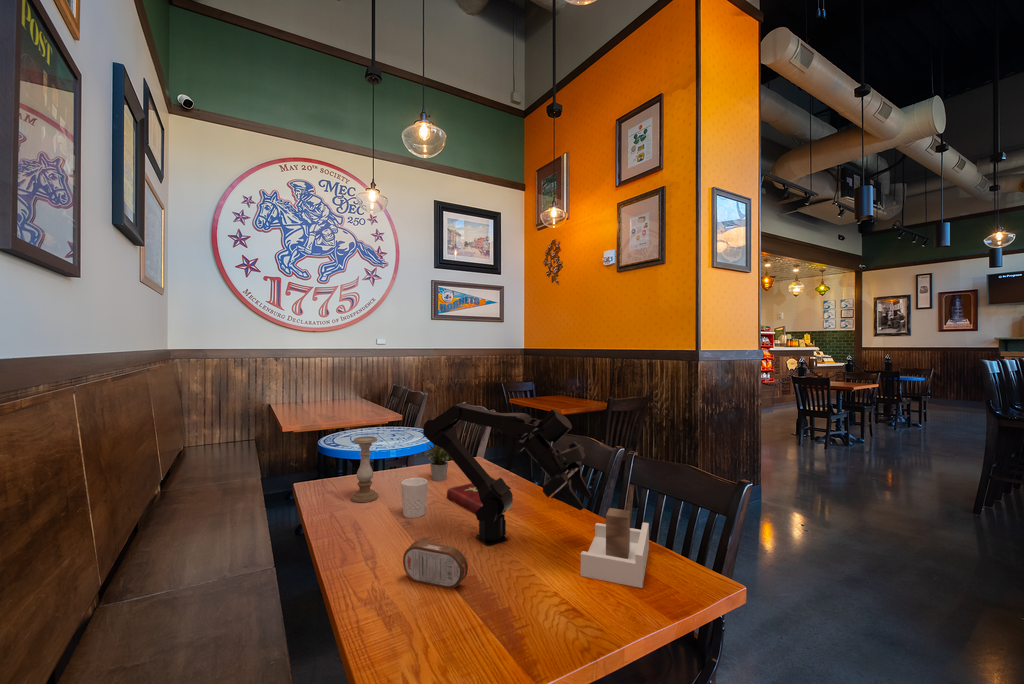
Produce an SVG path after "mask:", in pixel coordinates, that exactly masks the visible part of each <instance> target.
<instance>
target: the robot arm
mask: <svg viewBox="0 0 1024 684" xmlns="http://www.w3.org/2000/svg"><path fill="white" fill-rule="evenodd" d="M460 421H462V422H463V421H464V422H467V423H471V424H476V425H480V426H484V427H489V428H494V429H496V430H498V432H500V433H502V434H503V435H506V436H508V437H511V438H512V439H519V440H518V441H517V442H516V443H517V448H516V452H517V453H520V452H522V451H523V450H524V449H525V451H526V452H527V453H528V454H529V456H531V458H533V460H534V461H535V462H536V463H537V465H536V468H537V469H538V470H540V469H542V470H543V472H544V473H545V474H546V475H547V476H548V478H547V481H546V483H544V485H542V493H543V494H544V495H545V496H546V497H547V499H549V497H550V498H551V500H552V499H555V500H557V501H560V502H561V503H564V504H566V505H568V506H571V507H573V508H574V509H577V510H578V511H582V510H583V509H584V507H585V506H584V505H583V504H582V502H581V500H580V499H579V497H578V495H576V493H575V491H576V492H578V493H579V494H581V495H583V496H584V497H585V498H587V499H590V498H591V497H592V494H591V491H590V490H589V487H588V485H587V484H586V481H585V480H584V478H583V475H582V474H583V473H582V470H583V465H582V463H583V462H581V461H583V460H584V458H586V453H585V451H584V450H585V448H584V446H582V444H581V443H580V444H579V443H578V442H576V441H572V442H571V443H569V445H568V448H567V449H565V450H563V451H562V450H561V449H560V448H554V446H553V445H552V444H551V442H552V443H555V444H556V443H557V442H558V441H559V440H561V439H562V438H563V437H564V436H565V435H566V434H567V433H568V432H569V431H570V430H572V428H573V426H572V423H571V421H570V420H569V419H568V418H567V417H566V416H565V415H563V414H562V413H560V412H559V411H558V410H556V409H555V408H552V409H550V411H548V412H547V414H546V415H545V416H544V417H543V418H542V419H537V418H532V417H531V415H530V414H528V413H524V412H498V411H494V410H488V409H485V408H479V407H474V406H470V405H466V404H464V403H458V404H453V405H452V406H450V408H448V409H446V411H444V412H442V413H441V414H439V415H437V416H436V417H434V418H432V419H428V420H426V421H425V422H424V423H423V424H424V425H423V428H422V429H423V430H422V433H423V436H424V437H425V438H426V439H427V440H428V441H429V442H431V444H432V445H433V444H434V445H436V447H440V449H443V450H445V451H446V452H447V454H448V455H449V458H450V459H451V460H452V461H453V462H454V464H455V465H457V467H458V468H459V469H460V471H461V472H462V473H463V475H465V477H466V478H467V479H468V480H469V481H470V483H472V484H473V485H474V486H475V487H476V489H477V491H478V494H479V498H480V501H481V503H482V505H483V506H482V507H481V508H480V509H478V510H477V511H476V514H475V517H476V519H477V521H478V534H476V535H475V538H476V539H478V540H479V541H480V542H481V543H482V544H484V545H486V546H487V547H488V546H492V545H495V544H500V543H502V542H506V541H508V537H507V533H506V531H507V529H506V527H507V525H506V524H507V520H506V518H505V513H506V512H507V511H506V509H507V508H508V507H509V506H510V505H511V506H512V504H513V497H514V495H513V493H512V491H511V489H512V488H511V487H510V486H509V485H507V484H506V482H505V481H504V479H503V478H502V477H499V478H498V479H495V478H494V477H491V476H490V475H489V473H488V472H487V471H486V470H485V469H484V468H483V467H482V465H481V464H480V463H479V461H478V460H477V459H476V458H475V457H474V456H473V455H472V454H471V452H470V451H469V450H468V449H467V448H466V447H465V445H464V444H463V443H462V442H461V441H460V439H459V437H458V435H457V431H456V428H455V426H456V425H457V424H458V423H460ZM537 430H538V431H537ZM535 431H537V432H535ZM533 432H535V434H533ZM527 434H528V436H526V435H527ZM524 436H526V437H525V438H524V439H521V438H523V437H524ZM448 455H447V456H448ZM574 490H575V491H574Z"/></svg>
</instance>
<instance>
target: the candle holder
mask: <svg viewBox="0 0 1024 684" xmlns="http://www.w3.org/2000/svg"><path fill="white" fill-rule="evenodd" d="M377 441H378V437H377V436H372V435H365V436H358V437H355V438H354V439H353V443H354V444H358V447H359V448H360V452H359V456H360V465H359V468H358V469H357V472H356V479H357V481H358V482H357V484H356V485H357V486H358V488H359V489H358V490H356V491H354V493H353V494H351V496H350V501H352V502H354V503H361V504H362V503H368V502H372V501H373V502H374V501H375V500H378V498H379V493H378V492H376V490H374V489H372V488H371V486H372V484H373V481H372V478H374V471H373V468H372V466H371V463H370V456H371V455H372V452H371V450H370V448H371V447H372V445H373V443H375V442H377Z"/></svg>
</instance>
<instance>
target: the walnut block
mask: <svg viewBox="0 0 1024 684" xmlns="http://www.w3.org/2000/svg"><path fill="white" fill-rule="evenodd" d="M605 524H606V555H607V556H613V557H618V558H624V559H628V556H629V552H630V528H631V510H627V509H619V508H614V507H613V508H612V507H609V508H608V510H607V512H606V515H605Z"/></svg>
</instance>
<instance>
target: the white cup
mask: <svg viewBox="0 0 1024 684" xmlns="http://www.w3.org/2000/svg"><path fill="white" fill-rule="evenodd" d="M400 483H401V484H400V485H401V503H402V505H401V506H402V515H403V517H405V518H409V519H416V518H420V517H423V516H424V515H425V514H426V507H427V506H426V505H427V497H428V496H427V495H428V479H426V478H423V477H410V478H406V479H403V480H401V482H400Z"/></svg>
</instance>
